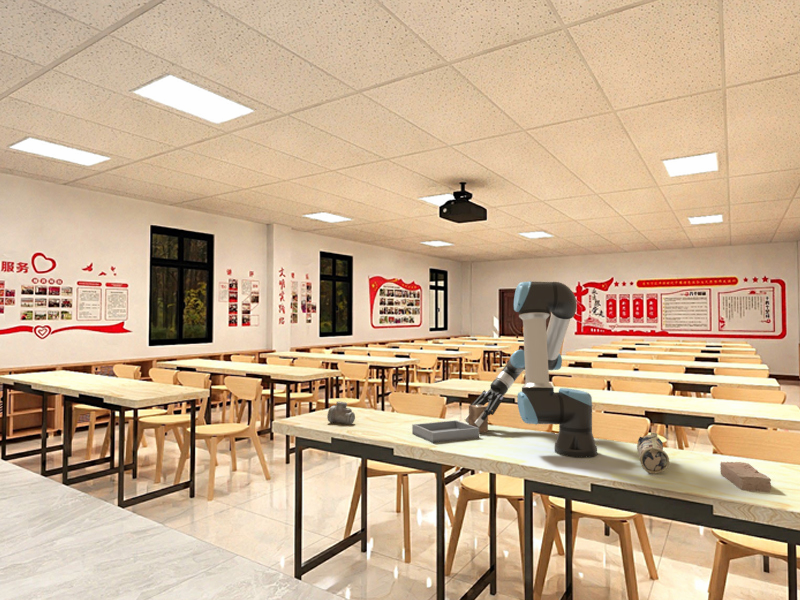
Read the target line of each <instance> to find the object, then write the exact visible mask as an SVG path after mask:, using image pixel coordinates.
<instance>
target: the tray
mask: <svg viewBox="0 0 800 600" xmlns="http://www.w3.org/2000/svg"><path fill="white" fill-rule="evenodd" d="M411 426H412V428H411V429H412V432H411V434H412V435H414V436H416V437H419V438H421V439H423V440H425V441H427V442H430V443H432V444H434V443H435V444H436V443H437V444H438V443H446V442H454V441H465V440H472V439H479V438H480V433H479V428H478V427H475V426H472V425H469V424H468V423H467V422H466V423H465V422H462V421H460V420H445V421H435V422H424V423H414V424H413V423H412V425H411Z"/></svg>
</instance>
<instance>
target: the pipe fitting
mask: <svg viewBox="0 0 800 600" xmlns="http://www.w3.org/2000/svg"><path fill="white" fill-rule="evenodd" d="M347 406H348V403H347V402H345V401H339V400H338V401H336V405H332V406H330V408H329V409H328V411H327V418H326V419H327V421H328V422H329V423H331V422H332V423H331V424H334V423H333V422H335V423H337V422H338V423H341V424H345V425H348V424H349V426H351V425H352V424H354V422H355V420H356V415H355V413H354V412H353V411H352V408H350V407H349V408H348V407H347ZM350 424H351V425H350Z"/></svg>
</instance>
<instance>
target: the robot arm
mask: <svg viewBox="0 0 800 600" xmlns="http://www.w3.org/2000/svg"><path fill="white" fill-rule="evenodd" d="M514 291H515V292H514V298H513V310H514V312H516V313H518V318H519V319H521V320H522V327H523V328H522V329H523V349H518V350H515V351H514V352H513V353H512V354H511V356H510V358H509V359H508V361H507V362H506V364H505V366H504V367H503V368H502V369H501V371H500V372H499V373H498V374H497V375H496V377H495V379H494V380H493V381H492V382H491V383H490V389H488V390H487V391H486V390H485V389H483V391H482V392H481V394H480V395H479V396H478V397H477V398H476V400H474V402H472V404H471V405H484V406H487V408H486V410H484V411H485V412H484V411H483V412H482V413H481V415H480V416H479V417H478V419H477V420H476V421H475V424H476V425H477V426H478V427H480V425H481V424H482V423H483V421H484V420H485V419H486V418H487V416H488V417H489V416H490V415H491V416H494V414H495V413H496V411H497V410H498V408H499V406H500V405H501V403H502V402H503V401H504V400H505V399H506V398H505V397H504V396H505V395H506V393H507V392H508V391H509V389H510V388H511V387H512V385H513V384H514V383H515V382H516V380H517V379H518V377H519V376H520V375H521V374H522V372H524V376H525V383H524V385H522V386H521V391H519V392H518V393H517V395H516V396H517V408H518V412H519V416H520V419H521V420H522V421H523V422H524V423H525V424H527V425H528V424H529V425H535V426H536V425H558V426H559V427H558V428H559V429H558V432H557V433H558V434H557V437H556V442H555V443H554V446H553V449H554V452H555V453H556V454H558V455H562V456H565V457H569V458H570V457H572V458H593V457H596V456H597V455H598V447H597V445H596V440H595V439H594V435H593V434H594V433H593V398H592V397H593V396H592V395H591V394H590V393H589V392H587V391H584V390H578V389H573V388H568V387H567V388H565V387H560V388H559V390H558V391H557V392H555V391H554V386H553V385H552V384H551V383H550V375H549V373H550V372H549V371H555V370H556V371H558V370H560V369H561V368H562V366H563V358H562V355H561V353H560V352H561V348H562V345H563V343H564V339H565V336H566V333H567V331H568V327H569V324H570V321H571V319H573V318H574V317H575V315H576V311H577V299H576V296H575V293H574V291H572V289H571V288H570V287H569V286H568V285H566V284H565V283H563V282H559V281H532V280H531V281H521V282H519V283H518V284H517V286H516V289H515V290H514ZM549 317H550V318H549ZM548 318H549V322H548V326H547V320H548ZM487 403H488V404H487ZM486 404H487V405H486ZM464 421H465V422H466V424H469V413H468V414H467V415H466V417H465V418H464Z"/></svg>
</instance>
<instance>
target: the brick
mask: <svg viewBox="0 0 800 600" xmlns="http://www.w3.org/2000/svg"><path fill="white" fill-rule="evenodd" d="M719 465H720V467H719V468H720V469H719V470H720V476H722V477H724V479H726V480H727V481H728V482H730V483H731V484H733V485H734V486H736V487H738V489H740V490H741V491H745V490H747V492H759V493H760V492H762V493H771V492H772V490H771V489H772V484H771V482H772V479H771V478H770V477H769V476H768V475H766V474H764V473H761V472H760V471H758V470H757V469H756V468H755V467H754V466H753V465H751V464H750V463H748V462H742V461H735V462H734V461H726V462H725V461H721V462H720V464H719Z"/></svg>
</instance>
